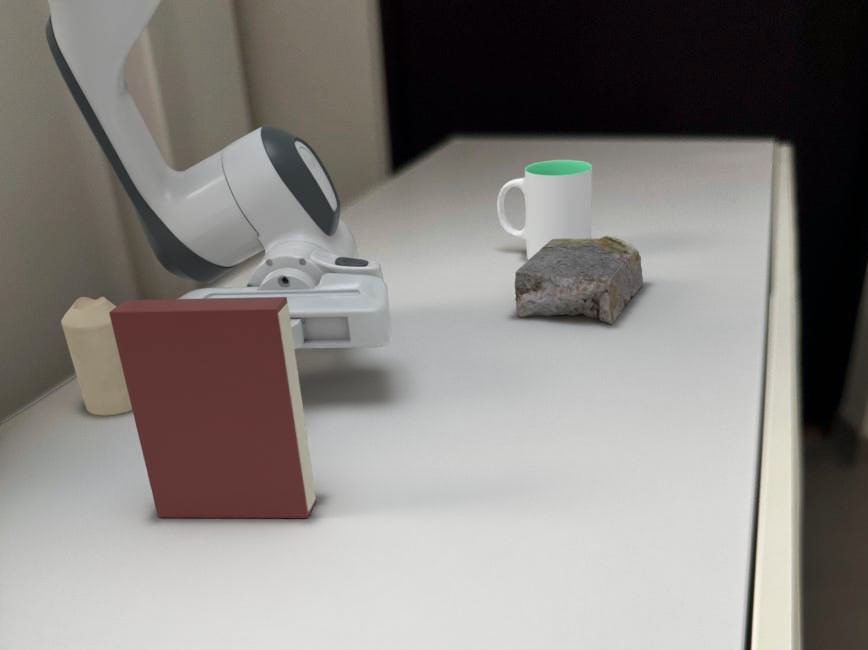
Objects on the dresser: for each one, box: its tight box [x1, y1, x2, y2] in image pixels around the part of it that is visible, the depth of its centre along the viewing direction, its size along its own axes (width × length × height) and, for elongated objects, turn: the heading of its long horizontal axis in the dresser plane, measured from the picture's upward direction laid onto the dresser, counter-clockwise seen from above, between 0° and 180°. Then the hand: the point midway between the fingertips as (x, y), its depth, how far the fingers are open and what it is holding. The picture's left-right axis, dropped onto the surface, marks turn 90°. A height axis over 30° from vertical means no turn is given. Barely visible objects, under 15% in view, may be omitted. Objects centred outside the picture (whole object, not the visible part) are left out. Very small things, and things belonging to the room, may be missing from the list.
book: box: [109, 297, 317, 519], centre depth 78 cm, size 12×3×16 cm, turn 85°
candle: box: [60, 296, 133, 416], centre depth 98 cm, size 6×6×10 cm
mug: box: [496, 159, 593, 261], centre depth 130 cm, size 12×8×10 cm, turn 71°
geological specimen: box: [514, 235, 644, 325], centre depth 116 cm, size 11×6×15 cm
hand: (262, 350), depth 89 cm, fingers closed
